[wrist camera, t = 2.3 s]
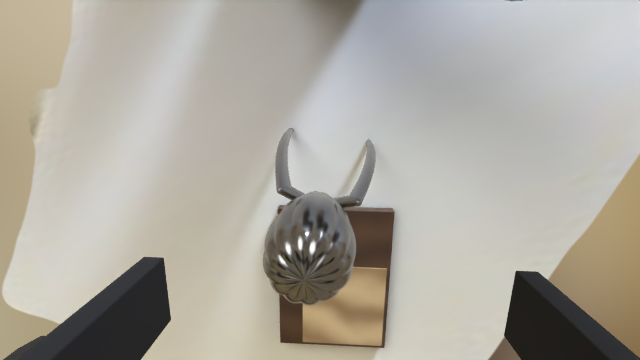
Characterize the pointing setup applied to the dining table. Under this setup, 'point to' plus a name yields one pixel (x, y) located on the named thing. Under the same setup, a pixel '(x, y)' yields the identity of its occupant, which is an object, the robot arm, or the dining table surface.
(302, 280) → the juicer
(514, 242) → the dining table surface
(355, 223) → the board
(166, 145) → the dining table surface
